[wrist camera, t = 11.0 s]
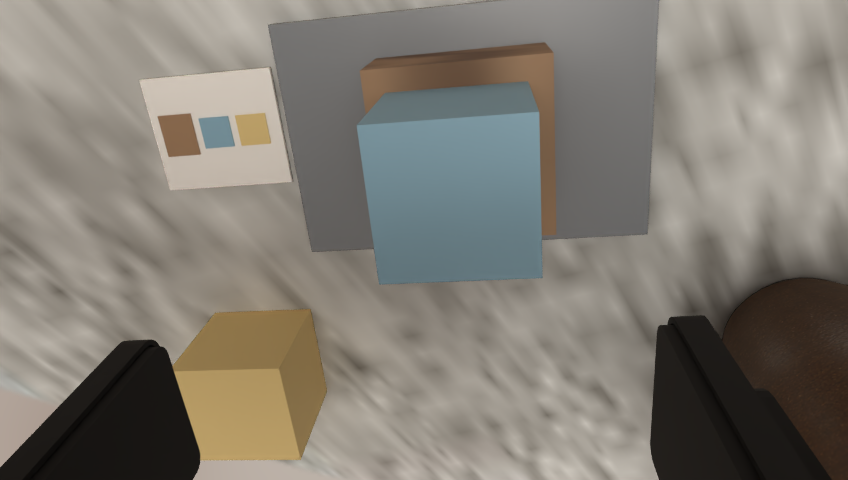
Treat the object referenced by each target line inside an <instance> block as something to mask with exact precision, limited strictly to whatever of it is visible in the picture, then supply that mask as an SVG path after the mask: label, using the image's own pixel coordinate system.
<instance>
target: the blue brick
mask: <svg viewBox="0 0 848 480" xmlns="http://www.w3.org/2000/svg"><path fill="white" fill-rule="evenodd" d="M357 132H358V139H359V146H360V153H361V160H362V167H363V174H364V181H365V188H366V195H367V202H368V209H369V216H370V223H371V230H372V237H373V245H374V252H375V259H376V266H377V273H378V280H379V284H404V283H429V282H454V281H480V280H505V279H530V278H543V277H542V227H541V177H540V127H539V110H538V107H537V104H536V102H535V99H534V96H533V93H532V91H531V88H530V85H529V82H528V81H525V82H512V83H500V84H488V85H476V86H463V87H451V88H439V89H426V90H414V91H402V92H389V93H384V95H383V96H382V97H381V98H380V99H379V100H378V101H377V103H376V104H375V105H374V106H373V107H372V108H371V109H370V111H369V112H368V113H367V114H366V115H365V116H364V118H363V119H362V120H361V121H360V122H359V123H358V124H357Z"/></svg>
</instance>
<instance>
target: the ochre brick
mask: <svg viewBox="0 0 848 480" xmlns="http://www.w3.org/2000/svg"><path fill="white" fill-rule="evenodd" d="M172 367H173V370H174V373H175V376H176V379H177V382H178V385H179V389H180V392H181V395H182V398H183V401H184V404H185V407H186V410H187V413H188V416H189V419H190V422H191V425H192V429H193V432H194V435H195V438H196V441H197V444H198V447H199V450H200V460H301V457H302V455H303V452H304V450H305V447H306V444H307V442H308V439H309V437H310V434H311V431H312V429H313V426H314V424H315V421H316V418H317V416H318V413H319V411H320V408H321V406H322V403H323V400H324V398H325V395H326V393H327V388H326V383H325V378H324V373H323V368H322V363H321V358H320V354H319V349H318V344H317V339H316V334H315V329H314V324H313V319H312V314H311V309H299V310H274V311H249V312H224V313H215V314H214V315H213V316H212V318H211V319H210V320H209V321H208V323H207V324H206V325H205V326H204V328H203V329H202V330H201V331H200V333H199V334H198V335H197V336H196V338H195V339H194V340H193V341H192V342H191V344H190V345H189V346H188V347H187V349H186V350H185V351H184V352H183V354H182V355H181V356H180V357H179V359H178V360H177V361H176V362H175V364H174V365H173V366H172Z"/></svg>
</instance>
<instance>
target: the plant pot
mask: <svg viewBox="0 0 848 480" xmlns="http://www.w3.org/2000/svg"><path fill="white" fill-rule="evenodd" d="M722 342H723V343H724V345H725V346H726V348H727V349H728V351H729V352H730V354H731V355H732V357H733V358H734V360H735V361H736V363H737V364H738V366H739V367H740V369H741V370H742V372H743V373H744V375H745V376H746V378H747V379H748V381H749V382H750V384H751V385H752V387H753V388H754V389H756V388H764V389H766V390H768V391H769V392H770V393H771V394H772V395H773V396H774V397H775V399H776V400H777V402H778V403H779V404H780V406H781V407H782V409H783V410H784V412H785V413H786V415H787V416H788V417H789V419H790V420H791V422H792V423H793V425H794V426H795V427H796V429H797V430H798V432H799V433H800V435H801V436H802V437H803V439H804V440H805V442H806V443H807V445H808V446H809V447H810V449H811V450H812V452H813V453H814V455H815V456H816V457H817V459H818V460H819V462H820V463H821V465H822V466H823V467H824V469H825V470H826V472H827V473H828V475H829V476H830V478H831V479H832V480H848V285H845V284H840V283H836V282H832V281H827V280H822V279H812V278H800V279H791V280H786V281H781V282H778V283H775V284H772V285H770V286H768V287H765V288H763V289H761V290H760V291H758V292H756V293H755V294H753V295H752V296H750V297H749V298H748V299H746V300H745V301H744V302H743V303H742V304H741V305H740V306H739V307H738V308H737V309H736V310H735V311H734V313H733V314H732V315H731V317H730V319H729V321H728V322H727V325H726V327H725V330H724V334H723V339H722Z"/></svg>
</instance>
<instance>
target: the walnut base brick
mask: <svg viewBox="0 0 848 480" xmlns="http://www.w3.org/2000/svg"><path fill="white" fill-rule="evenodd" d="M360 77H361V84H362V91H363V98H364V105H365V112H366V114H367V113H368V112H369V111H370V109H371V108H372V107H373V106H374V105H375V104H376V103H377V101H378V100H379V99H380V98H381V97H382V96H383V95H384V93H389V92H402V91H414V90H426V89H439V88H451V87H463V86H476V85H488V84H500V83H512V82H525V81H528V82H529V85H530V88H531V91H532V93H533V96H534V99H535V102H536V104H537V107H538V110H539V127H540V177H541V227H542V236H543V235H556V174H555V110H554V53H553V51H552V50H551V49H550V48H549V46H548V45H547V44H546V43H545V42H543V43H532V44H522V45H511V46H501V47H490V48H480V49H469V50H459V51H448V52H438V53H427V54H417V55H406V56H396V57H385V58H376V59H374V60H373V61H372V62H370V63H369V64H368V65H366V66H365V67H364V68H362V69H361V70H360Z"/></svg>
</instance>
